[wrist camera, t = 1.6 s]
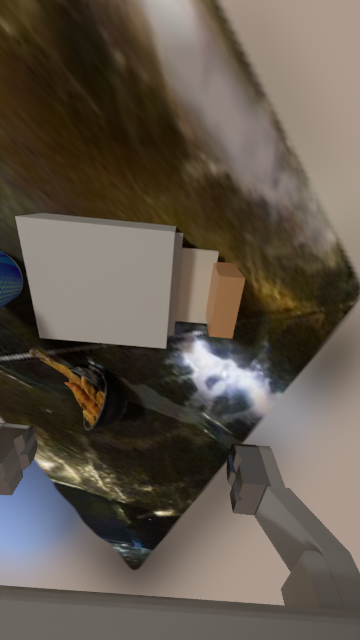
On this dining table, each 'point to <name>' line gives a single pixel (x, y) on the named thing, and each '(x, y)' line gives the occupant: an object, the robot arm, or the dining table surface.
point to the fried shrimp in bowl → (90, 393)
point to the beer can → (9, 279)
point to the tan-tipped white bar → (209, 291)
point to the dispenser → (102, 278)
